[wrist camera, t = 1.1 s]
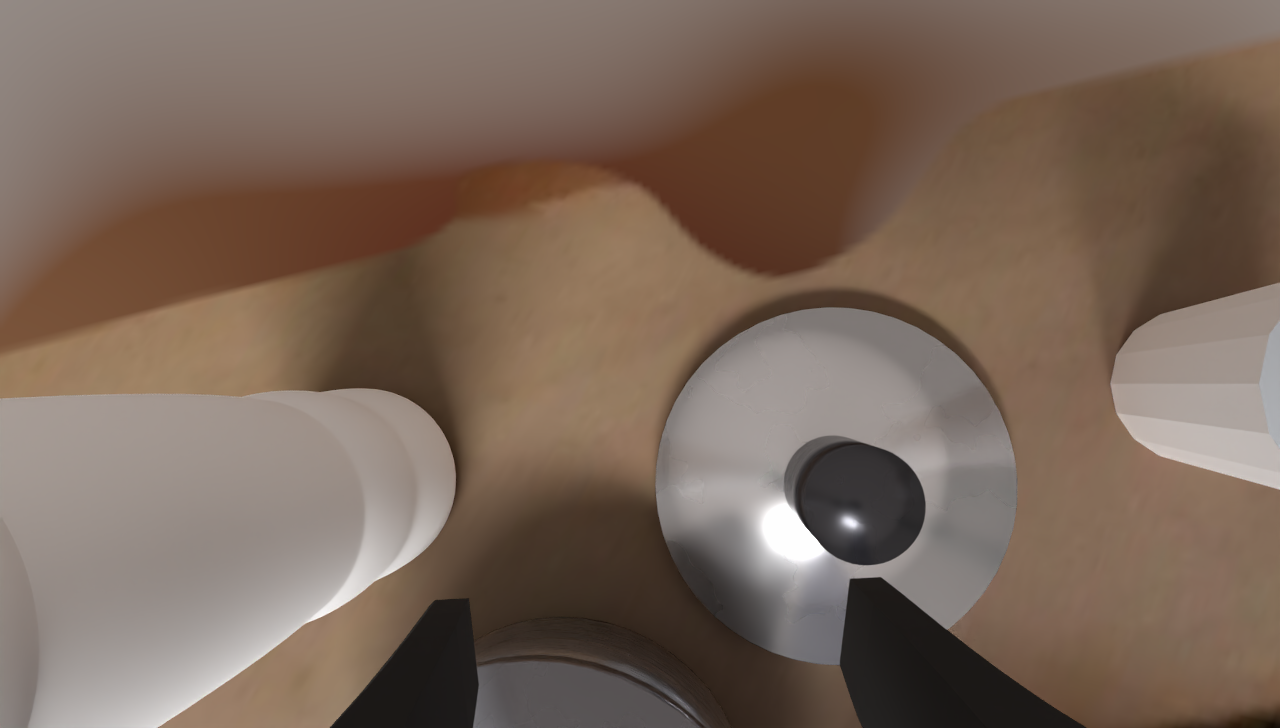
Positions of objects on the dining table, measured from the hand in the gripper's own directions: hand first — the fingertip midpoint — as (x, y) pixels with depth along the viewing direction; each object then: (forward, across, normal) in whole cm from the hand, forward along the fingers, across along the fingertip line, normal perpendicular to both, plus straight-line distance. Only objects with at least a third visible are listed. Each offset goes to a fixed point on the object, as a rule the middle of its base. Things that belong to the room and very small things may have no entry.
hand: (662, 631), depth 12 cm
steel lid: (+12, -8, +4) cm, 14 cm away
